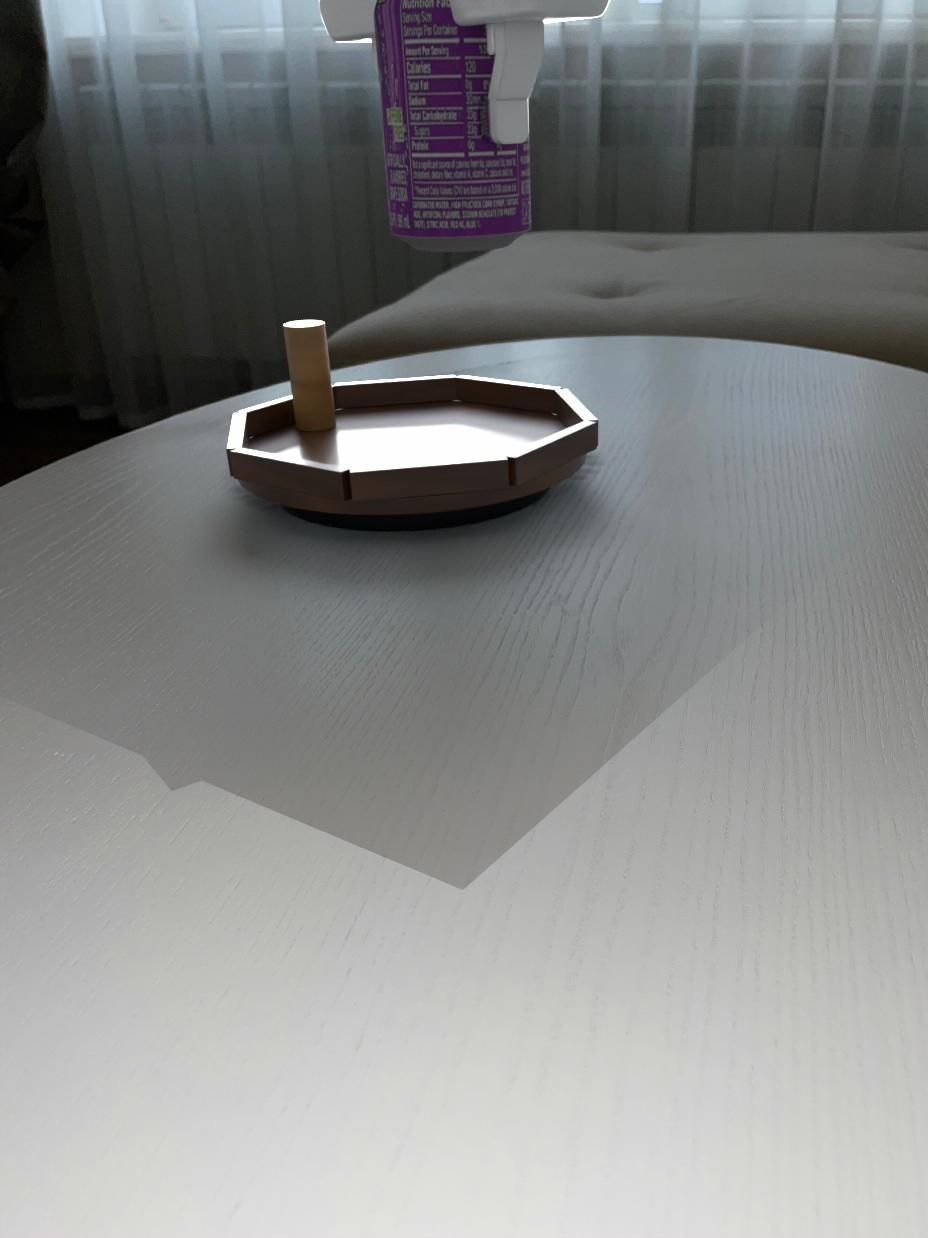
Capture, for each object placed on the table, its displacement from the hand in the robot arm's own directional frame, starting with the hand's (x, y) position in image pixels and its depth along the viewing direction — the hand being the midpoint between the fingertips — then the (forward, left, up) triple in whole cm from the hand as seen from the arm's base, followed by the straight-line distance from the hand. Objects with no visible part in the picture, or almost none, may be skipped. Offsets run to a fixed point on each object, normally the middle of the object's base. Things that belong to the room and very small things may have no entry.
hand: (457, 143), depth 54 cm
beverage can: (0, 0, -5) cm, 5 cm away
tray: (-4, -2, -16) cm, 17 cm away
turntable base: (-4, -2, -18) cm, 18 cm away
